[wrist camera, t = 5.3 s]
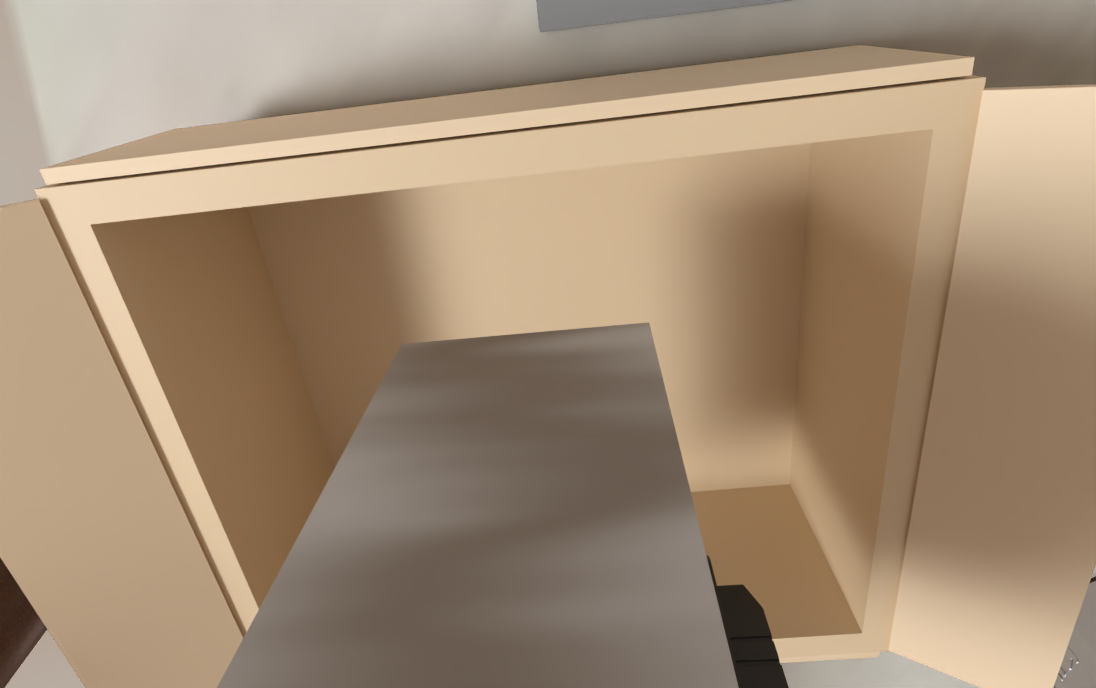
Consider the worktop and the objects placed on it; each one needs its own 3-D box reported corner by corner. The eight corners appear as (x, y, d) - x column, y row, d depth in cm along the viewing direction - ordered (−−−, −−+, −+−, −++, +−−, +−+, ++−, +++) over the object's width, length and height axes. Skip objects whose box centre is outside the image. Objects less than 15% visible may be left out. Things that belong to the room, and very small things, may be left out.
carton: (951, 27, 18) (1289, 38, 9) (885, 490, 25) (1046, 726, 16) (105, 131, 19) (-232, 218, 11) (268, 538, 26) (136, 775, 18)
